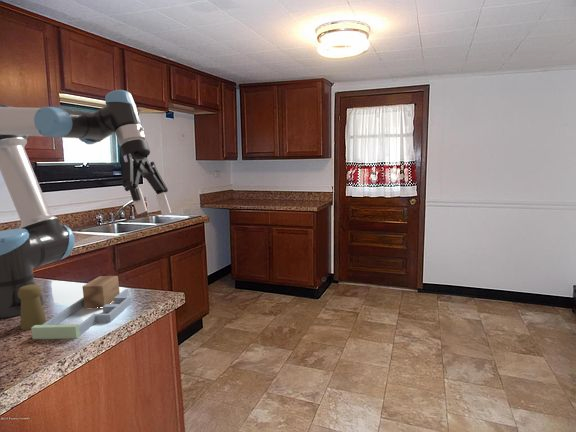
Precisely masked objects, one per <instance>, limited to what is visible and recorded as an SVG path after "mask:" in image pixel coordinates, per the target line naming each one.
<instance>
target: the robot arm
mask: <svg viewBox="0 0 576 432" xmlns="http://www.w3.org/2000/svg"><path fill="white" fill-rule="evenodd" d="M104 100H105V105H104V106H102V108H99V109H97V110H96V111H93V112H89V111H88V112H87V111H82V110H81V111H80V110H73V109H69V108H68V109H67V108H61V107H58V106H41V107H24V106H23V107H19V106H18V107H17V106H15V107H14V106H9V105H6V104H0V173H1V176H2V178H3V180H4V183H5V186H6V188H7V190H8V193H9V195H10V197H11V199H12V200H11V201H12V203H13V206H14V208H15V210H16V212H17V214H18V217H19V221H20V222H21V223H20V226H19V227H18V228H11V229H6V230H0V319H5V318H10V317H11V318H12V317H17V316H21V299H20V298H19V297H18V290H19V288H21V287H23V286H26V285H32V284H35V285H38V284H37V283H36V281H35V276H34V269H35V268H38V267H41V266H46V265H48V264H51V263H52V264H53V263H56V262H58V261H61V260H63V259H66V258H67V257H69V256H70V255H71V254H72V252H73V251H74V250H73V249H74V247H75V243H76V241H75V234H74V232H73V229H71V228H70V227H69V226H68V225H65V224H61V222H60V219H59V217H57V216H55V215H53V214H51V211H50V208H49V206H48V204H47V201H46V198H45V195H44V194H43V191H42V188H41V186H40V184H39V181H38V178H37V175H36V174H35V172H34V169H33V166H32V163H31V162H30V159H29V156H28V154H27V152H26V149H25V147H26V145H27V143H28V140H27V139H28V137H47V138H48V137H49V138H58V139H59V138H65V139H66V138H67V139H69V138H70V139H79V141H81V142H83V143H85V144H86V145H94V144H97V143H99V142H101V141H103V140H104V139H107V138H108V137H110V136H112V135H114V134H115V135H116V140H117V142H118V146H119V147H120V152H121V155H122V156H121V157H120V160H121V163H122V167H121V171H122V175H121V176H122V177H121V181H122V182H121V183H122V184H121V185H122V187H123V188H124V191H126V192H130V195H131V200H132V202H133V206H134V208H135V211H136V215H140V214H144V213H145V212H148V208H147V205H146V201H145V198H144V195H143V192H142V189H141V187H139V183H140V179H141V176H142V178H143V179H146V180H147V182H148V183H149V185H150V186H151V188H152V189H153V190H154V192H155V193H156V195H155V196H156V197H155V198H156V200H157V203H158V207H159V210H160V214H161V216H162V217H165V216H167V215H170V214H171V213H172V211H171V207H170V204H169V201H168V198H167V194H166V193H167V192H168V193H169V189H168V187H167V185H166V184H165V181H164V179H163V178H162V176H161V174H160V172H159V170H158V169H157V167H156V164H155V161H151V162H150V161H149V160H148V157H149V155H150V154H151V150H150V147H149V144H148V141H147V138H146V135H145V132H144V131H145V128H144V127H143V125H142V123H141V119H140V116H139V113H138V109H137V105H136V103H135V101H134V98H133V96H132V94H131V93H130V92H129V91H127V90H123V89H115V90H112V91H109V92H108V93H107V94H106V95H105V97H104ZM39 297H40V301H41V304H42V306H43V305H44V304H45V300H44V295H43V294H42V293H41V294H40V296H39Z"/></svg>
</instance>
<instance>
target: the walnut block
mask: <svg viewBox="0 0 576 432" xmlns="http://www.w3.org/2000/svg"><path fill="white" fill-rule="evenodd" d="M119 283H120V282H119V276H118V275H104V276H103V275H98V276H97V277H95V279H93V280H91V281H89V282H88V283H86V284H84V285H82V296H83V297H84V309H85V308H97V307H98V309H101V308H100V307H103V306H104V305H106V304H110V303H111V302H112V301H113V302H114V298H115V297H116V296H117V295H118V294H120V293H121V292H120V284H119ZM113 302H112V303H113ZM112 303H111V304H112Z"/></svg>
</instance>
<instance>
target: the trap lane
mask: <svg viewBox="0 0 576 432" xmlns="http://www.w3.org/2000/svg"><path fill="white" fill-rule="evenodd" d="M129 295H130V294H129V289H128V288H125V289H124V290H122V291H121V292H120V294H118V295H117V296H116V297H115V298H114V301H113V303H111V304H106V305H104V306H103V308H102V313H93V314H92V315H90V316H89V317H87V318H86V319H85V320H84V321H82V322H81V323H80V324H78V323H76V324H72V323H71V324H70V323H69V324H60V323H62V322H63V321H65V320H66V319H67V318H69V317H71V316H72V315H73V314H74V313H76V312H78V311H79V310H80V309H82V308H83V307H85V305H84V296H83V297H82V298H80V299H79V300H78V301H75V302H74V303H73V304H70V306H68V307H66V308H65V309H64V310H62V311H61V312H59V313H57V314H55V316H53V317H52V318H50V319H48V320H46V321H47V322H45V323H44V324H42V325H35V326H33V327H32V328H31V329H30V330H31V336H32V340H51V339H53V340H54V339H55V340H56V339H59V340H62V339H64V340H65V339H78V338H79V337H80V336H82V335H83V334H84V333H85V332H87V330H89V329H90V328H91V327H92V326H93V325H95V324H96V323H111V322H112V321H114V320H115V319H116V318H117V317H118V316H119V315H120V314H121V313H123V311H125V310H126V309H127V308H128V307H129V306H131V305H132V303H133V298H132V296H129ZM81 307H82V308H81ZM125 308H126V309H125ZM124 309H125V310H124ZM94 323H95V324H94Z"/></svg>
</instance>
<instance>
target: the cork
mask: <svg viewBox="0 0 576 432" xmlns="http://www.w3.org/2000/svg"><path fill="white" fill-rule="evenodd" d="M40 294H42V288H41V286H40V285H38V284H37V285H35V284H32V285H26V286H23V287H21V288H19V290H18V297H19V298H20V299H21V315H20V323H19V324H20V327H19V329H20V330H23V331H26V330H27V331H29V330H32V329H31V328H32V327H33V326H35V325H42V324H44V323H45V322H47V321H48V320H47V318H46V315H45V312H44V311H45V310H44V308H43V305H42V304H41V301H40V297H39V296H40Z"/></svg>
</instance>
